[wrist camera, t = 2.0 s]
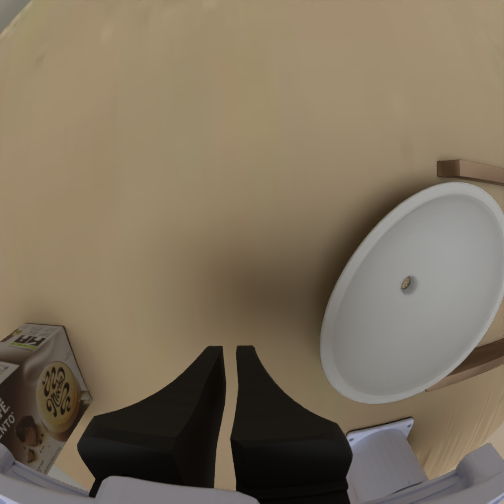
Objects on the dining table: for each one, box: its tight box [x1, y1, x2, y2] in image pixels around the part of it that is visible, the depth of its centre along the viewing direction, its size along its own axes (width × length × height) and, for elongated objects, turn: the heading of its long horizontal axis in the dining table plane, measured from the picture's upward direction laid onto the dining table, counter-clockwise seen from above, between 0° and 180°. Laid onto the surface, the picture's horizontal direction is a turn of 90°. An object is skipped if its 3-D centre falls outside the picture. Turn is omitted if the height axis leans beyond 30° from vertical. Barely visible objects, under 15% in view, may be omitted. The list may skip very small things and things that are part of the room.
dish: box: [320, 182, 504, 404], centre depth 18 cm, size 18×14×5 cm
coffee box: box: [0, 324, 92, 475], centre depth 15 cm, size 9×6×16 cm
